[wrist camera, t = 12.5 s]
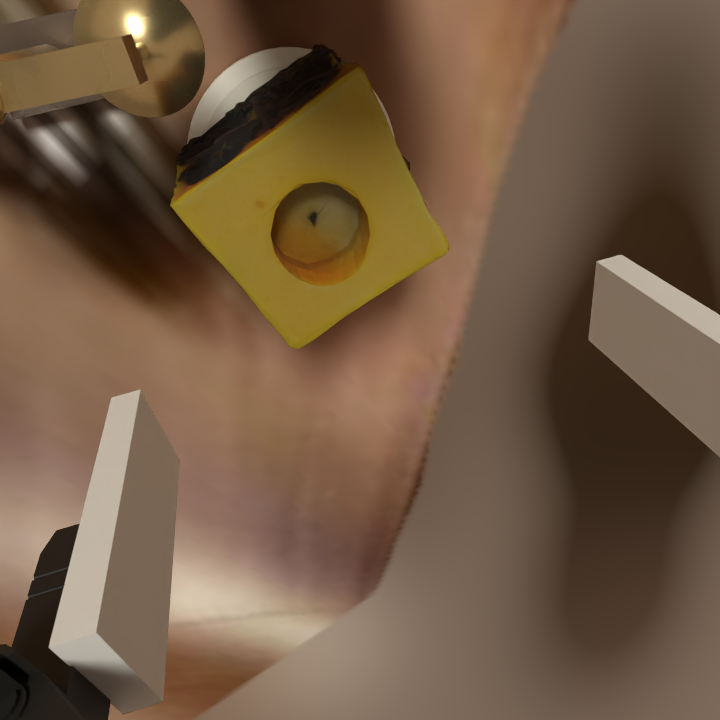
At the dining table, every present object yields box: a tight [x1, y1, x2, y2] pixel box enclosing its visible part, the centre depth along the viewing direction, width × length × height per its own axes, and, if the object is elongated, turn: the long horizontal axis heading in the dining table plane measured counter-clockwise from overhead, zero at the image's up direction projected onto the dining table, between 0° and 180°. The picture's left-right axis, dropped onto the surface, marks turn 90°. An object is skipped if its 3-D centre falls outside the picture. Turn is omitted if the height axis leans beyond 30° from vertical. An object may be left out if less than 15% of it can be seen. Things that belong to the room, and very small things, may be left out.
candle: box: [170, 44, 449, 349], centre depth 28 cm, size 10×10×10 cm
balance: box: [0, 0, 205, 126], centre depth 22 cm, size 16×5×14 cm, turn 100°
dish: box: [187, 47, 395, 144], centre depth 33 cm, size 13×13×1 cm
